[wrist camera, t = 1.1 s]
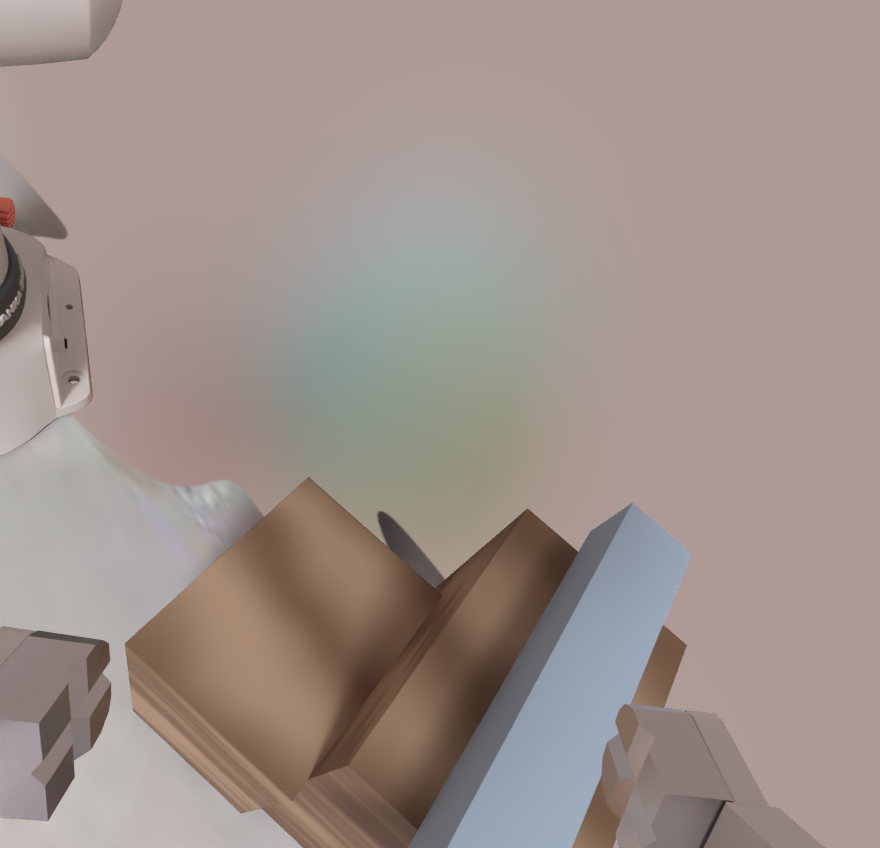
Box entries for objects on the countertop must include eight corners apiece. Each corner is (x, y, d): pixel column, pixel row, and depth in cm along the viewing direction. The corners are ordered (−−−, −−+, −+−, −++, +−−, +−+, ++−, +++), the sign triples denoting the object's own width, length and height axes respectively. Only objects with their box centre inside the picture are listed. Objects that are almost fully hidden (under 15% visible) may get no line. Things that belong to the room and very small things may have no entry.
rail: (333, 1249, 16) (372, 1335, 13) (233, 1148, 16) (250, 1213, 13) (644, 577, 31) (692, 553, 28) (590, 531, 31) (632, 502, 28)
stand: (352, 919, 40) (555, 1003, 20) (133, 710, 42) (118, 595, 22) (469, 721, 50) (686, 645, 30) (287, 557, 51) (376, 378, 31)
